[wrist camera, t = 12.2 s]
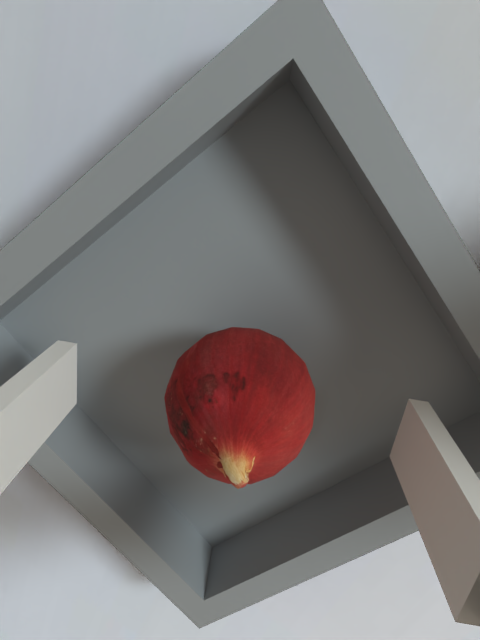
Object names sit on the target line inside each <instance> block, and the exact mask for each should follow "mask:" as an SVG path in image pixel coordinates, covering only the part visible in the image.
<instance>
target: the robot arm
mask: <svg viewBox="0 0 480 640" xmlns="http://www.w3.org/2000/svg"><path fill="white" fill-rule="evenodd" d="M76 403H77V343H72V342H66V341H60V340H58V341H57V342H55V343H54V344H53V345H52V346H50V347H49V348H48V349H47V350H45V351H44V352H43V353H42V354H40V355H39V356H38V357H37V358H35V359H34V360H33V361H32V362H30V363H29V364H28V365H27V366H25V367H24V368H23V369H22V370H20V371H19V372H18V373H17V374H16V375H14V376H13V377H12V378H11V379H9V380H8V381H7V382H6V383H4V384H3V385H2V386H1V387H0V495H1V493H2V492H3V491H4V490H5V489H6V487H7V486H8V485H9V484H10V483H11V481H12V480H13V479H14V478H15V477H16V475H17V474H18V473H19V472H20V471H21V469H22V468H23V467H24V466H25V465H26V463H27V462H28V461H29V460H30V459H31V457H32V456H33V455H34V454H35V453H36V451H37V450H38V449H39V448H40V447H41V445H42V444H43V443H44V442H45V441H46V439H47V438H48V437H49V436H50V435H51V433H52V432H53V431H54V430H55V429H56V427H57V426H58V425H59V424H60V423H61V421H62V420H63V419H64V418H65V417H66V415H67V414H68V413H69V412H70V411H71V409H72V408H73V407H74V406H75V405H76ZM390 459H391V461H392V464H393V466H394V469H395V471H396V474H397V476H398V479H399V481H400V484H401V486H402V489H403V492H404V494H405V497H406V499H407V502H408V504H409V507H410V509H411V512H412V514H413V517H414V519H415V522H416V524H417V527H418V529H419V532H420V534H421V537H422V539H423V542H424V544H425V547H426V549H427V552H428V554H429V557H430V559H431V562H432V564H433V567H434V569H435V572H436V574H437V577H438V579H439V582H440V584H441V587H442V589H443V592H444V595H445V597H446V600H447V602H448V605H449V607H450V610H451V612H452V615H453V617H454V620H455V622H459V623H464V624H470V625H476V626H480V480H479V478H478V477H477V475H476V474H475V472H474V471H473V469H472V468H471V466H470V465H469V463H468V461H467V460H466V458H465V457H464V455H463V454H462V452H461V451H460V449H459V448H458V446H457V445H456V443H455V442H454V440H453V439H452V437H451V436H450V434H449V432H448V431H447V429H446V428H445V426H444V425H443V423H442V422H441V420H440V419H439V417H438V416H437V414H436V413H435V411H434V410H433V408H432V407H431V405H430V404H429V402H426V401H420V400H414V399H408V402H407V405H406V408H405V411H404V414H403V417H402V420H401V423H400V426H399V429H398V432H397V435H396V438H395V441H394V444H393V447H392V450H391V453H390Z"/></svg>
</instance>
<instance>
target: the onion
mask: <svg viewBox="0 0 480 640" xmlns="http://www.w3.org/2000/svg"><path fill="white" fill-rule="evenodd" d="M164 399H165V407H166V413H167V419H168V425H169V430H170V434H171V435H172V437H173V438H174V440H175V441H176V443H177V444H178V446H179V447H180V449H181V451H182V453H183V455H184V457H185V458H186V460H187V461H188V462H189V464H190V465H191V466H193V467H194V468H196V469H197V470H198V471H200V472H201V473H202V474H204V475H205V476H207V477H208V478H212V479H215V480H218V481H221V482H224V483H227V484H232V485H233V486H234V487H236V488H237V489H239V488H243V487H245V486H246V485H247V484H253V483H256V482H259V481H261V480H264V479H267V478H270V477H272V476H275V475H276V474H277V473H278V472H279V471H281V470H282V469H283V468H284V467H286V466H287V465H288V464H289V463H290V462H292V461H293V460H294V459H295V458H296V457H297V456H298V454H299V453H300V451H301V449H302V447H303V445H304V443H305V441H306V439H307V438H308V436H309V434H310V432H311V430H312V427H313V420H314V407H315V388H314V385H313V383H312V380H311V377H310V374H309V372H308V369H307V366H306V364H305V362H304V361H303V360H302V359H301V358H300V357H299V356H298V355H297V354H296V353H295V352H294V351H293V350H292V349H291V348H290V347H289V346H288V345H287V344H286V343H285V342H284V341H283V340H282V339H281V338H278V337H276V336H274V335H272V334H269V333H267V332H265V331H263V330H260V329H255V328H241V327H230V328H227V329H224V330H220V331H217V332H213V333H210V334H207V335H205V336H204V337H203V338H201V339H200V340H199V341H198V342H197V343H195V344H194V345H193V346H192V347H190V348H189V349H188V350H187V351H185V352H184V353H183V354H182V356H181V357H180V358H179V359H178V360H177V362H176V365H175V368H174V370H173V373H172V375H171V378H170V380H169V383H168V385H167V389H166V393H165V397H164Z"/></svg>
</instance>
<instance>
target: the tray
mask: <svg viewBox="0 0 480 640" xmlns="http://www.w3.org/2000/svg"><path fill="white" fill-rule="evenodd" d="M230 327H241V328H255V329H260V330H263V331H265V332H267V333H269V334H272V335H274V336H276V337H278V338H281V339H282V340H283V341H284V342H285V343H286V344H287V345H288V346H289V347H290V348H291V349H292V350H293V351H294V352H295V353H296V354H297V355H298V356H299V357H300V358H301V359H302V360H303V361H304V362H305V364H306V366H307V369H308V372H309V374H310V377H311V380H312V383H313V385H314V388H315V407H314V420H313V427H312V430H311V432H310V434H309V436H308V438H307V439H306V441H305V443H304V445H303V447H302V449H301V451H300V453H299V454H298V456H297V457H296V458H295V459H294V460H293V461H292V462H290V463H289V464H288V465H287V466H286V467H284V468H283V469H282V470H281V471H279V472H278V473H277V474H276V475H275V476H272V477H270V478H267V479H264V480H261V481H259V482H256V483H253V484H247V485H246V486H245V487H243V488H239V489H237V488H236V487H234V486H233V485H232V484H227V483H224V482H221V481H218V480H215V479H212V478H208V477H207V476H205V475H204V474H202V473H201V472H200V471H198V470H197V469H196V468H194V467H193V466H191V465H190V464H189V462H188V461H187V460H186V458H185V457H184V455H183V453H182V451H181V449H180V447H179V446H178V444H177V443H176V441H175V440H174V438H173V437H172V435H171V434H170V430H169V425H168V419H167V413H166V407H165V399H164V397H165V393H166V389H167V385H168V383H169V380H170V378H171V375H172V373H173V370H174V368H175V365H176V362H177V360H178V359H179V358H180V357H181V356H182V354H183V353H184V352H185V351H187V350H188V349H189V348H190V347H192V346H193V345H194V344H195V343H197V342H198V341H199V340H200V339H201V338H203V337H204V336H205V335H207V334H210V333H213V332H217V331H220V330H224V329H227V328H230ZM58 340H60V341H66V342H72V343H77V403H76V405H75V406H74V407H73V408H72V409H71V411H70V412H69V413H68V414H67V415H66V417H65V418H64V419H63V420H62V421H61V423H60V424H59V425H58V426H57V427H56V429H55V430H54V431H53V432H52V433H51V435H50V436H49V437H48V438H47V439H46V441H45V442H44V443H43V444H42V445H41V447H40V448H39V449H38V450H37V451H36V453H35V454H34V455H33V456H32V457H31V459H30V460H29V461H28V463H29V464H30V465H31V466H32V467H33V468H34V469H35V470H36V471H37V472H38V473H39V474H40V475H41V476H42V477H43V478H44V479H45V480H46V481H47V482H48V483H49V484H50V485H51V486H52V487H53V488H54V489H55V490H56V491H58V492H59V493H60V494H61V495H62V496H63V497H64V498H65V499H66V500H67V501H68V502H69V503H70V504H71V505H72V506H73V507H74V508H75V509H76V510H77V511H78V512H79V513H80V514H81V515H82V516H83V517H84V518H85V519H86V520H88V521H89V522H90V523H91V524H92V525H93V526H94V527H95V528H96V529H97V530H98V531H99V532H100V533H101V534H102V535H103V536H104V537H105V538H106V539H107V540H108V541H109V542H110V543H111V544H112V545H113V546H114V547H115V548H117V549H118V550H119V551H120V552H121V553H122V554H123V555H124V556H125V557H126V558H127V559H128V560H129V561H130V562H131V563H132V564H133V565H134V566H135V567H136V568H137V569H138V570H139V571H140V572H141V573H142V574H143V575H144V576H145V577H147V578H148V579H149V580H150V581H151V582H152V583H153V584H154V585H155V586H156V587H157V588H158V589H159V590H160V591H161V592H162V593H163V594H164V595H165V596H166V597H167V598H168V599H169V600H170V601H171V602H172V603H173V604H174V605H175V606H177V607H178V608H179V609H180V610H181V611H182V612H183V613H184V614H185V615H186V616H187V617H188V618H189V619H190V620H191V621H192V622H193V623H194V624H195V625H196V626H197V627H198V628H202V627H204V626H206V625H208V624H210V623H213V622H215V621H217V620H219V619H222V618H224V617H226V616H228V615H231V614H233V613H235V612H237V611H240V610H242V609H244V608H246V607H249V606H251V605H253V604H255V603H257V602H260V601H262V600H264V599H266V598H269V597H271V596H273V595H275V594H278V593H280V592H282V591H284V590H287V589H289V588H291V587H293V586H296V585H298V584H300V583H302V582H304V581H307V580H309V579H311V578H313V577H316V576H318V575H320V574H322V573H325V572H327V571H329V570H331V569H334V568H336V567H338V566H340V565H342V564H345V563H347V562H349V561H351V560H354V559H356V558H358V557H360V556H363V555H365V554H367V553H369V552H372V551H374V550H376V549H378V548H381V547H383V546H385V545H387V544H389V543H392V542H394V541H396V540H398V539H401V538H403V537H405V536H407V535H410V534H412V533H414V532H416V531H419V529H418V527H417V524H416V522H415V519H414V517H413V514H412V512H411V509H410V507H409V504H408V502H407V499H406V497H405V494H404V492H403V489H402V486H401V484H400V481H399V479H398V476H397V474H396V471H395V469H394V466H393V464H392V461H391V459H390V453H391V450H392V447H393V444H394V441H395V438H396V435H397V432H398V429H399V426H400V423H401V420H402V417H403V414H404V411H405V408H406V405H407V402H408V399H414V400H420V401H426V402H429V404H430V405H431V407H432V408H433V410H434V411H435V413H436V414H437V416H438V417H439V419H440V420H441V422H442V423H443V425H444V426H445V428H446V429H447V431H448V432H449V434H450V436H451V437H452V439H453V440H454V442H455V443H456V445H457V446H458V448H459V449H460V451H461V452H462V454H463V455H464V457H465V458H466V460H467V461H468V463H469V465H470V466H471V468H472V469H473V471H474V472H475V474H476V475H477V477H478V478H479V480H480V271H479V269H478V267H477V266H476V264H475V262H474V261H473V259H472V257H471V255H470V254H469V252H468V250H467V248H466V247H465V245H464V243H463V242H462V240H461V238H460V236H459V235H458V233H457V231H456V230H455V228H454V226H453V224H452V223H451V221H450V219H449V217H448V216H447V214H446V212H445V211H444V209H443V207H442V205H441V204H440V202H439V200H438V199H437V197H436V195H435V193H434V192H433V190H432V188H431V186H430V185H429V183H428V181H427V180H426V178H425V176H424V174H423V173H422V171H421V169H420V168H419V166H418V164H417V162H416V161H415V159H414V157H413V155H412V154H411V152H410V150H409V149H408V147H407V145H406V143H405V142H404V140H403V138H402V137H401V135H400V133H399V131H398V130H397V128H396V126H395V124H394V123H393V121H392V119H391V118H390V116H389V114H388V112H387V111H386V109H385V107H384V106H383V104H382V102H381V100H380V99H379V97H378V95H377V93H376V92H375V90H374V88H373V87H372V85H371V83H370V81H369V80H368V78H367V76H366V75H365V73H364V71H363V69H362V68H361V66H360V64H359V62H358V61H357V59H356V57H355V56H354V54H353V52H352V50H351V49H350V47H349V45H348V44H347V42H346V40H345V38H344V37H343V35H342V33H341V31H340V30H339V28H338V26H337V25H336V23H335V21H334V19H333V18H332V16H331V14H330V13H329V11H328V9H327V7H326V6H325V4H324V2H323V0H278V1H277V2H276V3H274V4H273V5H272V6H271V7H270V8H269V9H268V10H267V11H266V12H264V13H263V14H262V15H261V16H260V17H259V18H258V19H257V20H256V21H254V22H253V23H252V24H251V25H250V26H249V27H248V28H247V29H246V30H244V31H243V32H242V33H241V34H240V35H239V36H238V37H237V38H236V39H234V40H233V41H232V42H231V43H230V44H229V45H228V46H227V47H226V48H225V49H223V50H222V51H221V52H220V53H219V54H218V55H217V56H216V57H215V58H213V59H212V60H211V61H210V62H209V63H208V64H207V65H206V66H205V67H203V68H202V69H201V70H200V71H199V72H198V73H197V74H196V75H195V76H193V77H192V78H191V79H190V80H189V81H188V82H187V83H186V84H185V85H183V86H182V87H181V88H180V89H179V90H178V91H177V92H176V93H175V94H173V95H172V96H171V97H170V98H169V99H168V100H167V101H166V102H165V103H163V104H162V105H161V106H160V107H159V108H158V109H157V110H156V111H155V112H153V113H152V114H151V115H150V116H149V117H148V118H147V119H146V120H145V121H143V122H142V123H141V124H140V125H139V126H138V127H137V128H136V129H135V130H134V131H132V132H131V133H130V134H129V135H128V136H127V137H126V138H125V139H124V140H122V141H121V142H120V143H119V144H118V145H117V146H116V147H115V148H114V149H112V150H111V151H110V152H109V153H108V154H107V155H106V156H105V157H104V158H102V159H101V160H100V161H99V162H98V163H97V164H96V165H95V166H94V167H92V168H91V169H90V170H89V171H88V172H87V173H86V174H85V175H84V176H82V177H81V178H80V179H79V180H78V181H77V182H76V183H75V184H74V185H72V186H71V187H70V188H69V189H68V190H67V191H66V192H65V193H64V194H62V195H61V196H60V197H59V198H58V199H57V200H56V201H55V202H54V203H52V204H51V205H50V206H49V207H48V208H47V209H46V210H45V211H44V212H43V213H41V214H40V215H39V216H38V217H37V218H36V219H35V220H34V221H33V222H31V223H30V224H29V225H28V226H27V227H26V228H25V229H24V230H23V231H21V232H20V233H19V234H18V235H17V236H16V237H15V238H14V239H13V240H11V241H10V242H9V243H8V244H7V245H6V246H5V247H4V248H3V249H1V250H0V387H1V386H2V385H3V384H4V383H6V382H7V381H8V380H9V379H11V378H12V377H13V376H14V375H16V374H17V373H18V372H19V371H20V370H22V369H23V368H24V367H25V366H27V365H28V364H29V363H30V362H32V361H33V360H34V359H35V358H37V357H38V356H39V355H40V354H42V353H43V352H44V351H45V350H47V349H48V348H49V347H50V346H52V345H53V344H54V343H55V342H57V341H58Z"/></svg>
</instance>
